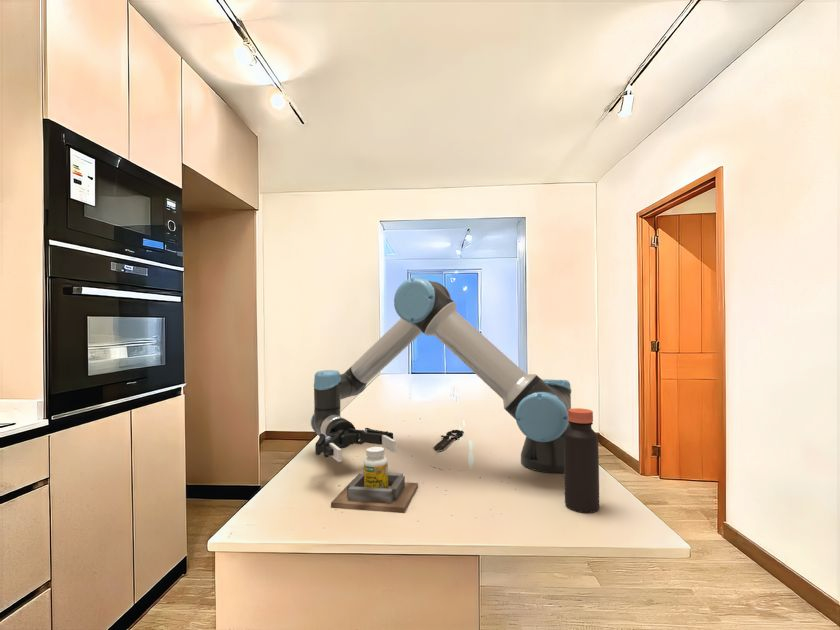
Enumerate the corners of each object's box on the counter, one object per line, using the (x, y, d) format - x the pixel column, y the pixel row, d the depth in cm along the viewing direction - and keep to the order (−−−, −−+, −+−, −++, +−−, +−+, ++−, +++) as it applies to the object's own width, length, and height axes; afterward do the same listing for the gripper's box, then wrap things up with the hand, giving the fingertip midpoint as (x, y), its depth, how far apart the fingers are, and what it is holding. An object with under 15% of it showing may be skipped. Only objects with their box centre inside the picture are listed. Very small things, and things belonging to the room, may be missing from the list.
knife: (441, 454, 130) (441, 450, 130) (421, 452, 132) (421, 447, 132) (468, 434, 153) (468, 430, 153) (451, 432, 155) (451, 428, 155)
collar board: (418, 487, 103) (417, 472, 103) (404, 512, 90) (404, 495, 90) (353, 483, 106) (353, 468, 106) (331, 507, 93) (330, 490, 93)
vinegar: (578, 515, 87) (576, 414, 88) (558, 502, 94) (556, 408, 94) (606, 510, 89) (605, 412, 89) (585, 498, 96) (583, 406, 96)
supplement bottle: (390, 487, 100) (389, 445, 101) (386, 496, 95) (385, 452, 95) (366, 487, 101) (366, 445, 101) (361, 496, 96) (361, 452, 96)
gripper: (380, 438, 126) (415, 458, 107) (292, 452, 114) (315, 477, 95) (379, 412, 126) (415, 428, 107) (292, 423, 114) (314, 442, 95)
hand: (368, 451), depth 101 cm, fingers open, 13 cm apart
